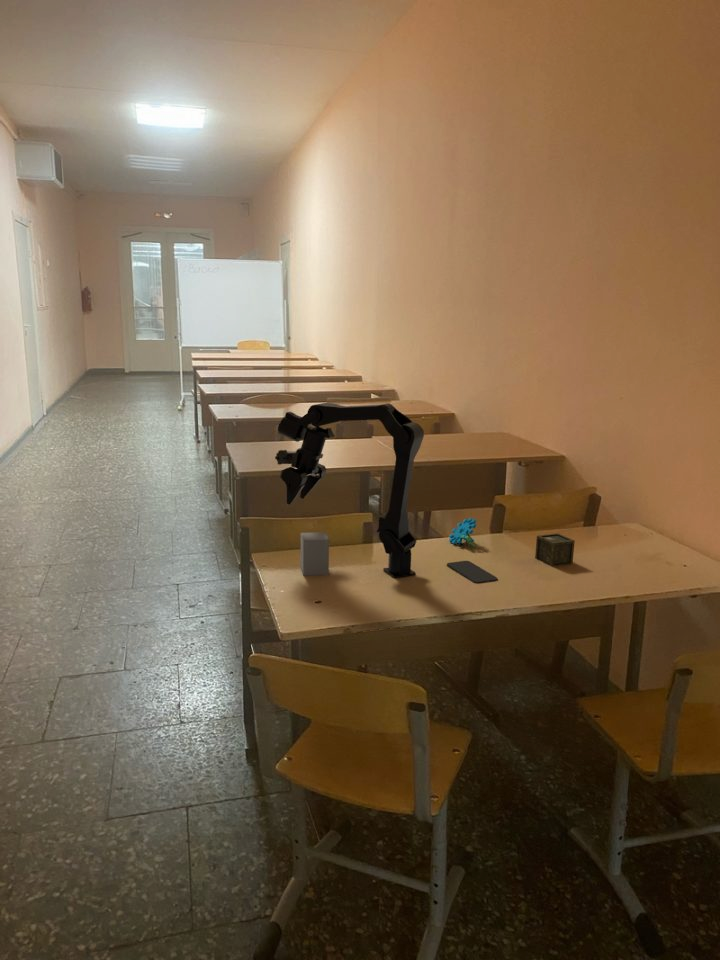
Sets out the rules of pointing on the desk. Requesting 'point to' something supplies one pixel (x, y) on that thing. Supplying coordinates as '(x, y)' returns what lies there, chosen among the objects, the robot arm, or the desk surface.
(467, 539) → the blue green lobed piece
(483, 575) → the phone
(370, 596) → the desk surface
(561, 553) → the wooden crate
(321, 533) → the grey rectangular block
